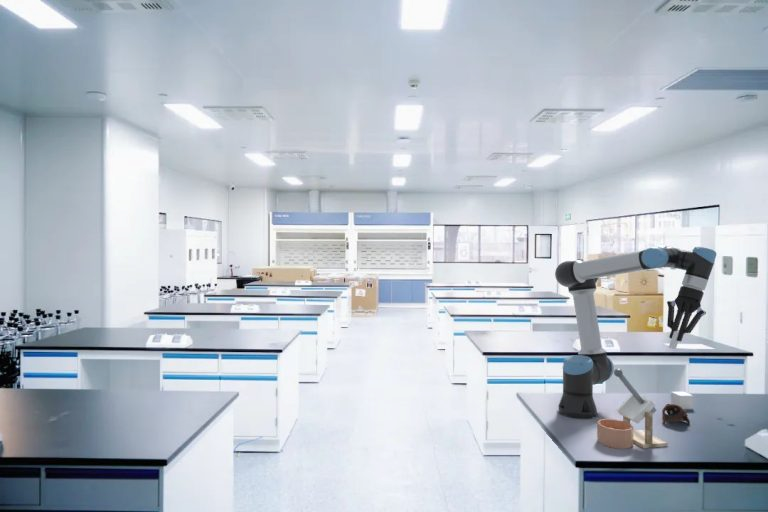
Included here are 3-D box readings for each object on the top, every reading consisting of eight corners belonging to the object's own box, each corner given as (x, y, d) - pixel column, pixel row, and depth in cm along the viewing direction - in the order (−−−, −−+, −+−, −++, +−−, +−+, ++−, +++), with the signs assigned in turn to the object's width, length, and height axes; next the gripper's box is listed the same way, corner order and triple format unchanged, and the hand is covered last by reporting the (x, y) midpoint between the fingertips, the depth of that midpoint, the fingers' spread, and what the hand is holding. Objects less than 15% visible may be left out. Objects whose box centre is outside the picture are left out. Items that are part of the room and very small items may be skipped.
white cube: (679, 409, 207) (679, 395, 207) (670, 405, 213) (670, 391, 213) (693, 409, 207) (693, 395, 207) (683, 404, 213) (683, 391, 213)
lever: (641, 403, 177) (610, 364, 175) (660, 411, 168) (627, 370, 166) (625, 420, 176) (593, 381, 173) (643, 429, 167) (609, 388, 164)
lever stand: (641, 433, 179) (642, 401, 179) (667, 446, 167) (667, 412, 167) (619, 434, 177) (619, 402, 177) (643, 448, 165) (643, 413, 165)
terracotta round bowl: (593, 443, 169) (594, 425, 169) (602, 434, 178) (602, 416, 178) (628, 451, 162) (628, 432, 162) (635, 441, 171) (635, 423, 171)
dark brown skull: (697, 428, 186) (690, 411, 184) (673, 437, 187) (666, 421, 185) (679, 410, 197) (672, 394, 196) (657, 419, 199) (650, 404, 197)
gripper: (715, 294, 174) (694, 355, 176) (678, 285, 185) (658, 343, 186) (708, 291, 170) (687, 354, 171) (670, 282, 180) (650, 341, 181)
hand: (672, 348), depth 178 cm, fingers closed
